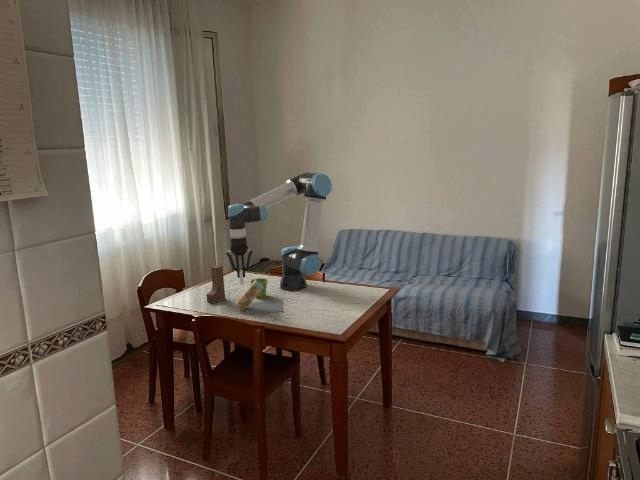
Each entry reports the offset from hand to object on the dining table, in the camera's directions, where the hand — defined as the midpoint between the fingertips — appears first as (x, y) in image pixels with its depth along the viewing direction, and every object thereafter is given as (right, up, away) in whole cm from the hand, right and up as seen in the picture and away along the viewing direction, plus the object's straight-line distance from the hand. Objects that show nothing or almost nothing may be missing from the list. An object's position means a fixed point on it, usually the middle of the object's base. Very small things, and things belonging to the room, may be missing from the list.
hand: (242, 283), depth 229 cm
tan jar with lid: (-2, -11, +2) cm, 12 cm away
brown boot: (-16, -11, +17) cm, 26 cm away
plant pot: (+6, -9, +21) cm, 24 cm away
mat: (+11, -12, +4) cm, 17 cm away
